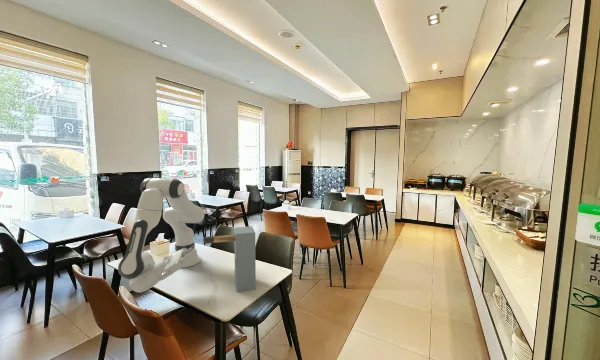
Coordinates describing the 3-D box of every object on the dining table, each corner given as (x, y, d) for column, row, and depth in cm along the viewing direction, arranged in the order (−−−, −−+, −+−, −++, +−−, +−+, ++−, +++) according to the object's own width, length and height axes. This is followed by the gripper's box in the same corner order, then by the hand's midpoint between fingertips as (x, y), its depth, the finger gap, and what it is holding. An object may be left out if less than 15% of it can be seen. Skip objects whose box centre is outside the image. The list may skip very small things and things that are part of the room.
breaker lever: (203, 242, 129) (203, 237, 129) (235, 239, 134) (234, 234, 134) (203, 244, 126) (203, 238, 126) (235, 241, 131) (235, 236, 131)
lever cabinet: (233, 280, 140) (233, 227, 138) (252, 278, 144) (251, 226, 141) (235, 292, 128) (234, 234, 126) (255, 289, 131) (255, 232, 129)
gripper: (157, 271, 112) (185, 254, 115) (165, 255, 131) (189, 241, 134) (165, 282, 113) (192, 264, 116) (172, 265, 132) (196, 250, 136)
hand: (191, 251), depth 126 cm, fingers open, 8 cm apart
